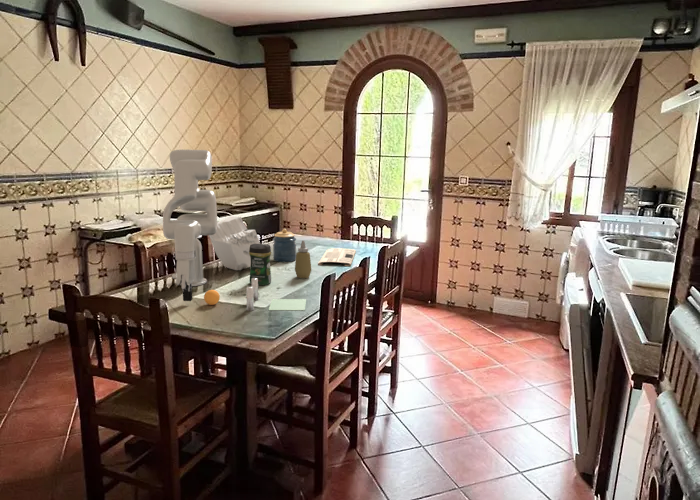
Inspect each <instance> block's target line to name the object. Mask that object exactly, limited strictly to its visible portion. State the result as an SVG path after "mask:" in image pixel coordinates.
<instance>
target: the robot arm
mask: <svg viewBox="0 0 700 500" xmlns="http://www.w3.org/2000/svg"><path fill="white" fill-rule="evenodd" d="M169 162H170V165H171V167H172V170H173V172H174V173H173V174H174V175H173V176H174V179H173V180H174V195H173V197H172V198H171V199H169V201H168V202H167V204H166V205H165V207H164V209H163V214H162V231H163V232H162V233H163V236H164V237H165V238H166V239H168V240H174V252H175V254H174V255H175V257H174V258H175V260H176V273H173V274H171V278H172V279H173V280H176V286H181V289H182V300H183V302H191V301H192V300H193V287H198V286H202V285H205V284H206V283H207V282H208V280H207V278H205V277H204V270H203V267H204V266H203V251H202V250H203V246H202V243H201V241H200V240H199V239H198V238H199V236H209V235H213V234H215V233H216V232H217V222H218V216H217V215H218V209H217V206H218V205H217V199H216V198H217V196H216V194H215V192H214V191H213V190H210V189H200V188H199V181H207V180H210V179H211V177H212V171H213V167H212V166H213V156H212V153H211V152H210V151H209V150H207V149H175V150H172V151H170V153H169ZM178 208H179V209H181V210H182V211H184V212H185V211H186V212H205V213H201V214H200V213H186V214H185V213H184V214H181V215H179V216H178V217H177V219H176V220H171V216H172V213H173V212H174V211H175V210H176V209H178Z"/></svg>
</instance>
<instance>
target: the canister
mask: <svg viewBox="0 0 700 500" xmlns="http://www.w3.org/2000/svg"><path fill="white" fill-rule="evenodd" d="M273 235H274V237H273V238H272V241H273V244H272V246H273V247H272V248H273V251H272V254H273V255H272V258H273V261H275V262H279V263H288V262H294V261H295V262H296V253H297V243H296V240H297V238H296V237H295V236H296V234H295V233H293V232H292V231H288V230H287V229H286V228H283V229H282V230H281V231H278V232H276V233H275V234H273Z"/></svg>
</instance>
